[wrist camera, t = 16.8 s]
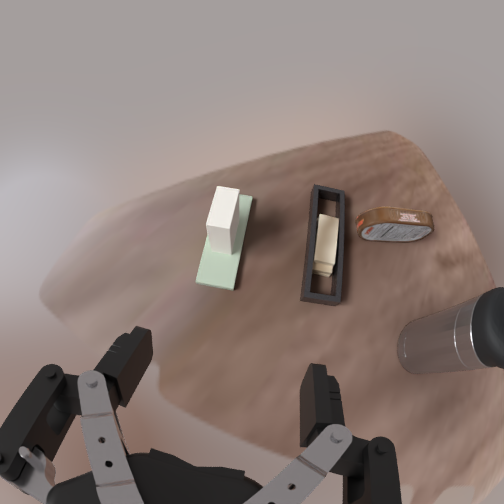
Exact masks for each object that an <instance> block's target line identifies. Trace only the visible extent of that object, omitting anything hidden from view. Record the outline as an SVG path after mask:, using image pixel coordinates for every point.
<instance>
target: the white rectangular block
mask: <svg viewBox="0 0 504 504" xmlns="http://www.w3.org/2000/svg"><path fill="white" fill-rule="evenodd" d="M238 224H239V189H233V188H227V187H220V186H217V189H216V192H215V196H214V199H213V202H212V206H211V209H210V212H209V216H208V219H207V223H206V228H207V232H208V236H209V241H210V245H211V250H212V252H217V253H223V254H228V255H232V250H233V246H234V241H235V237H236V233H237V228H238Z"/></svg>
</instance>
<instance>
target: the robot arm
mask: <svg viewBox="0 0 504 504" xmlns="http://www.w3.org/2000/svg"><path fill="white" fill-rule="evenodd" d="M152 356H153V347H152V335H151V330H149V329H145V328H142V327H139V326H136V327H135V328H134V329H133V331H132V332H131V333H130V334H128V333H124V334H123V335H121V336H119V337H118V338H117V339H116V340H115V342H114V343H113V345H112V346H111V347H110V348H109V351H107V352H106V354H105V355H104V356H103V358H102V359H101V360H100V362H99V363H98V365H97V366H96V367H95V369H94V370H90V371H86V372H84V373H82V374H81V375H80V376H77V375H70V374H64V372H63V370H62V368H61V367H60V366H58V365H55V364H49V365H46V366H44V367H43V368H42V369H41V370H40V371H39V373H38V374H37V375H36V376H35V378H34V379H33V381H32V382H31V383H30V385H29V386H28V387H27V389H26V390H25V392H24V393H23V395H22V396H21V398H20V399H19V400H18V402H17V403H16V405H15V406H14V408H13V409H12V411H11V412H10V414H9V415H8V417H7V418H6V420H5V422H4V423H3V425H2V426H1V428H0V476H1V477H2V478H3V479H4V480H5V481H7V482H8V483H9V484H11V485H12V486H14V487H15V488H17V489H19V490H21V491H22V492H23V493H25V494H27V495H31V496H32V497H34V498H35V499H37V500H38V501H40V502H41V503H43V504H301V503H302V502H303V501H304V500H305V499H306V498H307V497H308V496H309V495H310V493H311V492H312V491H313V490H314V489H315V488H316V487H317V486H318V485H319V484H320V482H321V481H322V480H323V479H324V478H325V477H326V474H327V473H328V472H332V473H335V474H339V475H343V504H402V502H401V491H400V481H399V473H398V466H397V459H396V452H395V447H394V444H393V443H392V442H391V441H390V440H389V439H388V438H385V437H376V438H373V439H372V440H371V441H368V440H364V439H361V438H357V437H355V436H353V435H352V434H351V432H350V430H349V429H348V428H346V427H345V422H344V415H343V408H342V401H341V395H340V388H339V383H338V382H337V380H336V379H335V377H334V376H328V375H327V369H326V365H321V364H313V363H311V364H310V365H309V367H308V369H307V372H306V374H305V377H304V379H303V381H302V384H301V388H300V447H307V449H306V450H305V451H304V452H303V453H302V454H301V455H300V456H298V457H296V458H295V459H294V460H293V461H292V462H291V463H290V464H289V465H288V466H287V467H286V468H285V469H284V470H283V471H281V472H280V473H279V474H278V475H277V476H276V477H275V478H274V479H273V480H272V481H270V482H269V483H268V484H267V485H266V486H264V487H262V486H261V485H260V484H259V483H257V482H256V481H254V480H252V479H250V478H248V477H245V476H244V473H245V471H242V470H236V469H230V468H225V467H196V466H193V465H191V464H189V463H187V462H185V461H183V460H181V459H179V458H178V457H176V456H173V455H171V454H168V453H164V452H161V451H158V450H155V449H151V450H150V453H134V454H130V452H129V449H128V447H127V444H126V442H125V439H124V436H123V433H122V430H121V426H120V423H119V420H118V416H117V413H116V409H117V407H118V405H120V406H123V407H126V406H127V404H128V402H129V401H130V398H131V397H132V395H133V393H134V391H135V389H136V388H137V385H138V384H139V382H140V380H141V378H142V377H143V375H144V373H145V371H146V369H147V367H148V366H149V364H150V362H151V360H152ZM398 357H399V360H400V362H401V364H402V366H403V367H404V368H405V369H406V370H407V371H409V372H411V373H414V374H420V373H442V372H455V371H466V370H475V369H482V368H489V367H496V366H497V367H500V368H503V369H504V288H503V287H499V288H495V289H492V290H490V291H488V292H486V293H484V294H482V295H479V296H477V297H475V298H473V299H470V300H468V301H466V302H463V303H461V304H458V305H456V306H453V307H451V308H448V309H446V310H443V311H440V312H438V313H435V314H432V315H429V316H426V317H423V318H421V319H418V320H415V321H412V322H410V323H409V324H408V325H406V327H405V328H404V329H403V331H402V332H401V334H400V337H399V340H398ZM76 415H82V417H80V420H81V426H82V431H83V436H84V441H85V445H86V449H87V453H88V457H89V461H90V465H91V468H92V471H90V472H88V473H85V474H83V475H80V476H77V477H75V478H72V479H69V480H67V481H64V482H61V483H58V484H56V485H55V481H54V479H55V474H56V470H55V467H54V465H53V463H52V461H53V459H54V457H55V455H56V453H57V451H58V449H59V447H60V445H61V443H62V441H63V439H64V437H65V435H66V433H67V431H68V430H69V428H70V426H71V424H72V422H73V420H74V418H75V416H76Z"/></svg>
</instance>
